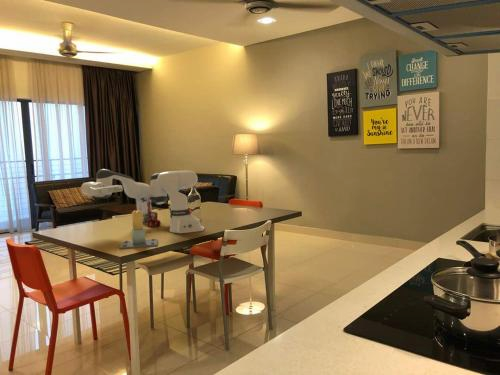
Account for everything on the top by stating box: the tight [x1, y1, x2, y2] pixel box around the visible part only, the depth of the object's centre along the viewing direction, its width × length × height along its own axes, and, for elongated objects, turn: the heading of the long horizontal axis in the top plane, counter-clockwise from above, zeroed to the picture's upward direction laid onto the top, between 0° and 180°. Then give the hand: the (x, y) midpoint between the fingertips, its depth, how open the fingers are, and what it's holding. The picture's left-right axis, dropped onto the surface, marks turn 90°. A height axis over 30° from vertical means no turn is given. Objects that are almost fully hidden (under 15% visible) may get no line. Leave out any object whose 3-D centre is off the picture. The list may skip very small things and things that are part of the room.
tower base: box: [119, 227, 159, 250], centre depth 231 cm, size 20×14×9 cm
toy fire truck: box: [145, 211, 162, 228], centre depth 283 cm, size 7×12×10 cm, turn 39°
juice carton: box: [135, 197, 153, 223], centre depth 303 cm, size 9×10×27 cm
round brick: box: [131, 209, 144, 230], centre depth 230 cm, size 6×6×11 cm
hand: (114, 190), depth 243 cm, fingers open, 8 cm apart
